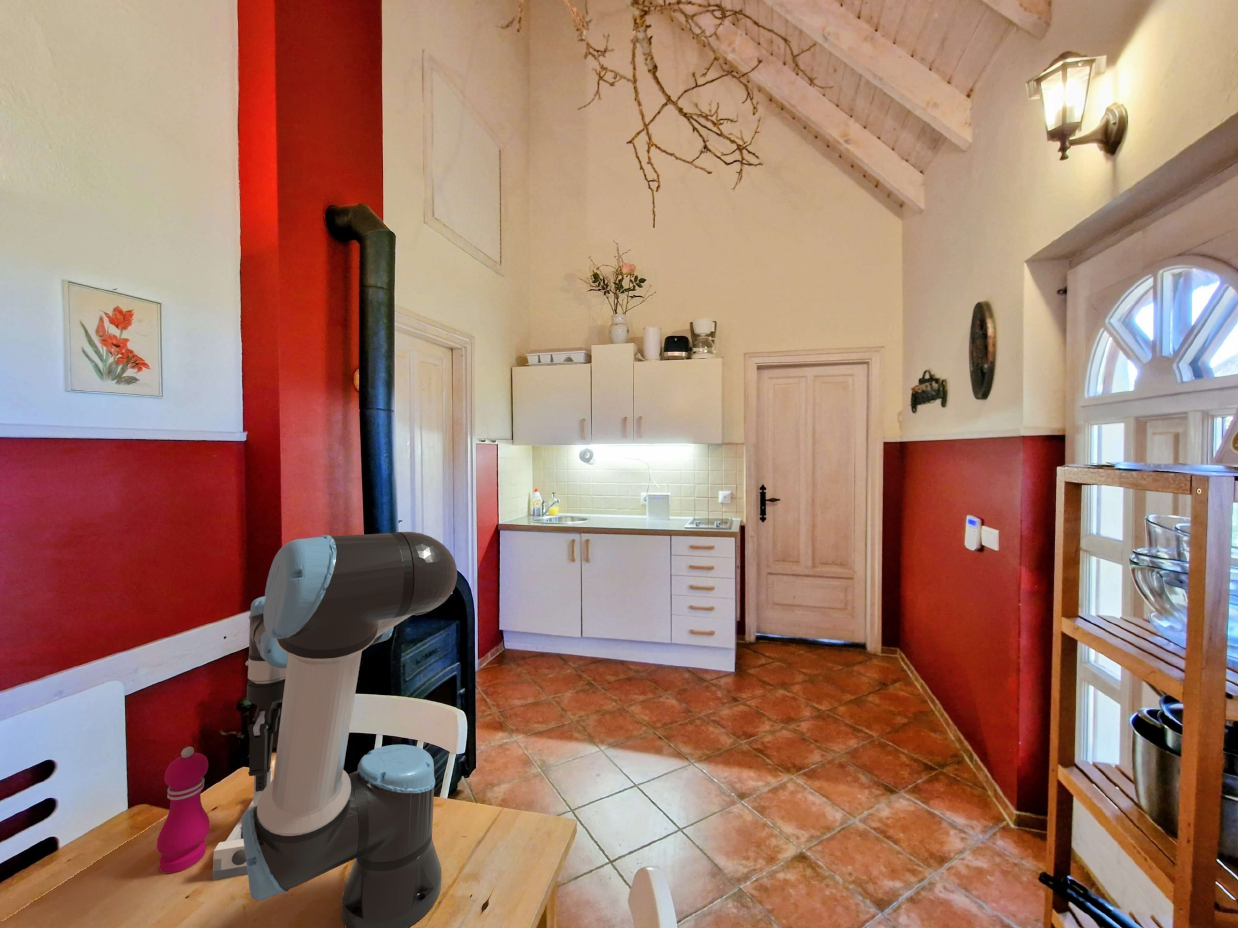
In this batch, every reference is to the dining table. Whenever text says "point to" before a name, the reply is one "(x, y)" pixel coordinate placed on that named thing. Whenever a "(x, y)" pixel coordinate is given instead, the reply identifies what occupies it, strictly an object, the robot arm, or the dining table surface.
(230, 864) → the rail track
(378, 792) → the robot arm
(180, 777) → the pepper mill
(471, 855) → the dining table surface
